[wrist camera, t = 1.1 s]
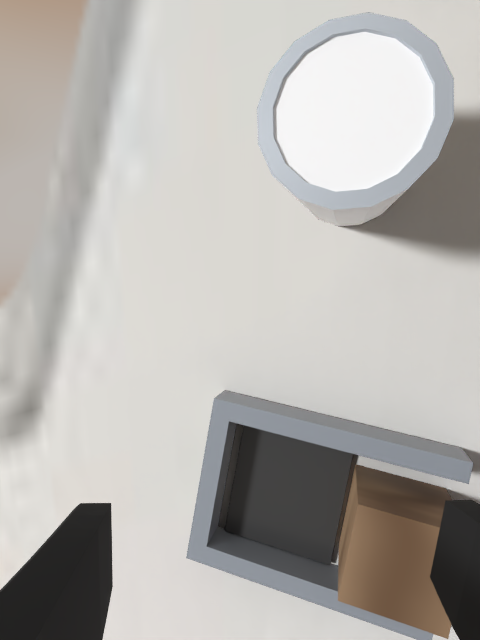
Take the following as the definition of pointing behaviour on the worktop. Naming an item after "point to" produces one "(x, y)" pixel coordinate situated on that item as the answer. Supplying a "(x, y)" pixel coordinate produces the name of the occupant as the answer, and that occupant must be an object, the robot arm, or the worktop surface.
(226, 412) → the grey shallow rectangular tray
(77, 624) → the robot arm
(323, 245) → the worktop surface
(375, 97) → the white cylinder
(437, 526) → the block
